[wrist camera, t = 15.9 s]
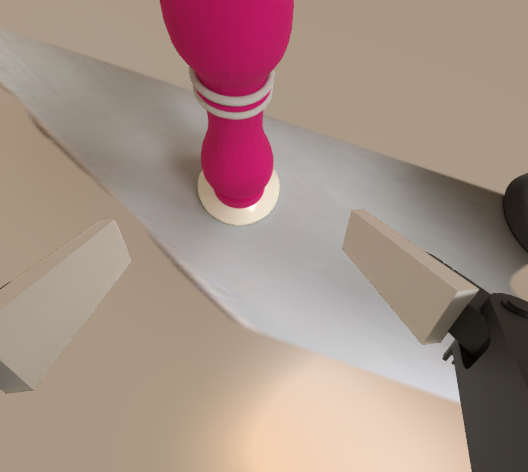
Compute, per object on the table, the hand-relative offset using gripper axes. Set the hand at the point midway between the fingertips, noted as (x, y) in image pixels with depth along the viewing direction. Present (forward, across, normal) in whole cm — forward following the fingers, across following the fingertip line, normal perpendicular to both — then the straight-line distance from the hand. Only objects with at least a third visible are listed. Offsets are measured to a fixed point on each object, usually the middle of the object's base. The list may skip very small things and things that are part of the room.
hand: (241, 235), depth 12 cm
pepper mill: (+14, 0, -1) cm, 15 cm away
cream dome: (+15, 0, -2) cm, 15 cm away
